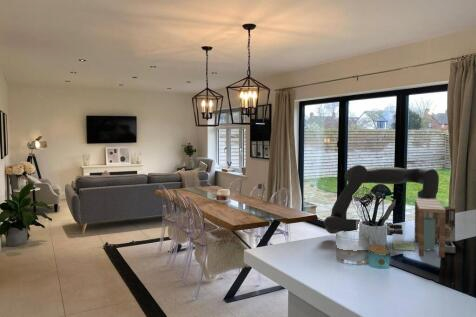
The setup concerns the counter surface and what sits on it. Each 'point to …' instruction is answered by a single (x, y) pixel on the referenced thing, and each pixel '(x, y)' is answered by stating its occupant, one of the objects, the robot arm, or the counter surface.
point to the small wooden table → (436, 208)
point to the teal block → (429, 233)
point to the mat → (403, 245)
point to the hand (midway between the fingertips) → (402, 229)
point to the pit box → (449, 247)
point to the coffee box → (448, 223)
